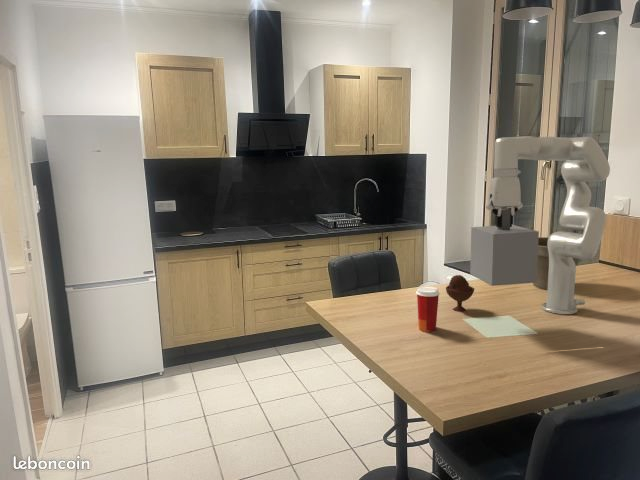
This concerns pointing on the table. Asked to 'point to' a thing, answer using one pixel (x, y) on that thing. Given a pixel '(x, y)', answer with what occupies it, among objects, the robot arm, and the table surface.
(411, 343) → the table surface
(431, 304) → the coffee cup
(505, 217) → the grey knobbed cube
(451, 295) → the ice cream bowl
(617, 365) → the table surface
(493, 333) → the mat
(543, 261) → the plant pot
